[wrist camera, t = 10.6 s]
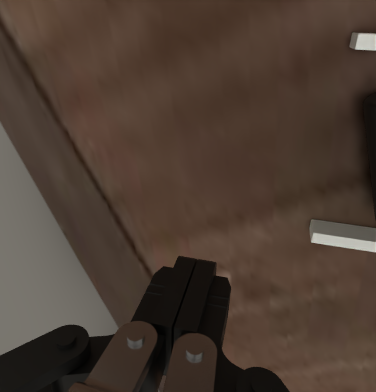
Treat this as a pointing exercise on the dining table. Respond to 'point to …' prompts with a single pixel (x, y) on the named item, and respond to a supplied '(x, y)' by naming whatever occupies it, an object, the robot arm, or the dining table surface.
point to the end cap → (371, 139)
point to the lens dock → (338, 231)
